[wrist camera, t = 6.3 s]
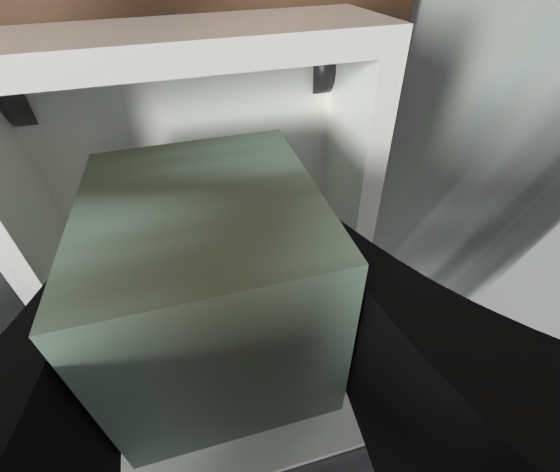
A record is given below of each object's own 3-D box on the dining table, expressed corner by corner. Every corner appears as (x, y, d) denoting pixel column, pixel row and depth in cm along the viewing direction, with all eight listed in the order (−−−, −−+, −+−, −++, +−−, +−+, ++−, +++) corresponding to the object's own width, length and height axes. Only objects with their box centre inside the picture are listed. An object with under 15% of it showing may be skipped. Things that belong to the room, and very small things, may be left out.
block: (142, 287, 11) (133, 468, 7) (89, 154, 8) (28, 337, 4) (282, 259, 12) (342, 408, 8) (279, 129, 9) (369, 264, 5)
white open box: (103, 306, 14) (57, 599, 8) (-44, 25, 8) (-844, 333, 2) (322, 261, 16) (432, 473, 9) (341, 1, 10) (693, 106, 3)
